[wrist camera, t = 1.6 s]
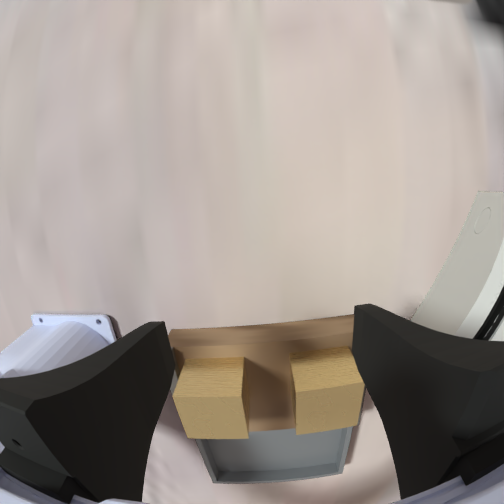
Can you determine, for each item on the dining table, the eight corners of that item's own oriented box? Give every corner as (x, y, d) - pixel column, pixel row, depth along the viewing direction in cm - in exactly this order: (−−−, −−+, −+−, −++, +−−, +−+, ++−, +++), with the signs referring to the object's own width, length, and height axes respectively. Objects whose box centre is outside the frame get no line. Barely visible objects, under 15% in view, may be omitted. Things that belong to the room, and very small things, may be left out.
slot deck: (194, 412, 23) (188, 438, 20) (171, 329, 21) (159, 353, 18) (349, 400, 23) (358, 425, 19) (358, 313, 20) (373, 335, 17)
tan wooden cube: (290, 395, 19) (296, 434, 16) (289, 352, 18) (295, 392, 15) (343, 388, 19) (357, 425, 15) (347, 345, 18) (364, 381, 14)
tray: (215, 469, 26) (213, 483, 24) (195, 415, 23) (192, 431, 21) (339, 460, 25) (342, 473, 23) (349, 403, 23) (354, 418, 21)
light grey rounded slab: (416, 375, 22) (439, 441, 13) (379, 353, 23) (389, 418, 14) (507, 219, 18) (571, 218, 9) (471, 190, 19) (531, 173, 10)
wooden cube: (197, 400, 20) (187, 438, 16) (185, 358, 19) (172, 396, 15) (249, 398, 20) (248, 438, 16) (243, 356, 19) (241, 396, 15)
